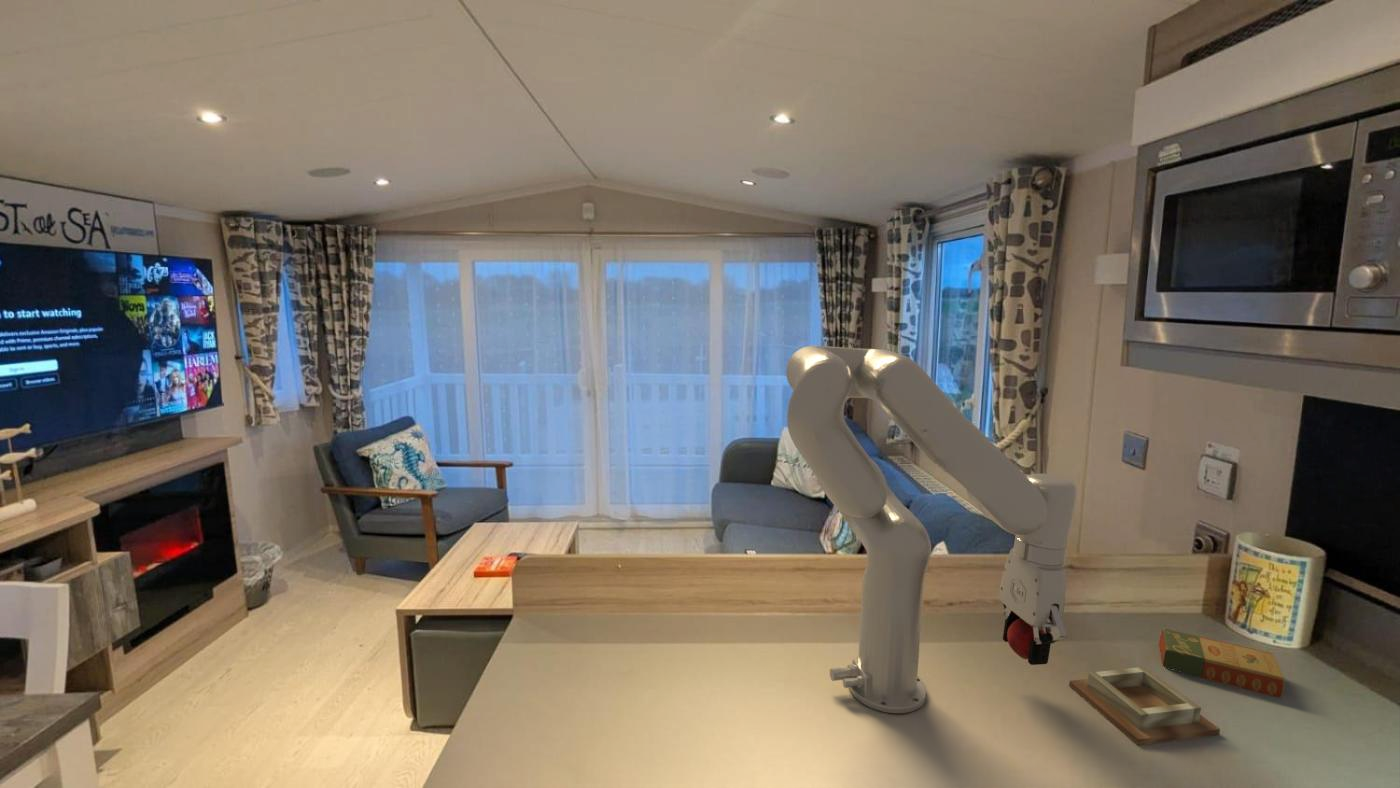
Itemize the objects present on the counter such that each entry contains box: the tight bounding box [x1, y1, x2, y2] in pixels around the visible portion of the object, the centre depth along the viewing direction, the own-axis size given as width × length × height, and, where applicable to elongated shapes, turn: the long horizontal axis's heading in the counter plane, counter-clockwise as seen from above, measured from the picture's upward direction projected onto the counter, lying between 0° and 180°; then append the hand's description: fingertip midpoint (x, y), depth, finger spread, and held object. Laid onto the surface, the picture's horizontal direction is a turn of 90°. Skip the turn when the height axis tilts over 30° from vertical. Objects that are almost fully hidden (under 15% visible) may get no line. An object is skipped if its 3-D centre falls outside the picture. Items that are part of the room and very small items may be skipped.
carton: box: [1158, 627, 1285, 699], centre depth 111 cm, size 8×16×4 cm, turn 58°
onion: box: [1007, 618, 1046, 660], centre depth 105 cm, size 6×6×8 cm
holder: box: [1068, 666, 1221, 746], centre depth 101 cm, size 14×14×4 cm
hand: (1024, 650), depth 106 cm, fingers closed on onion, 5 cm apart
